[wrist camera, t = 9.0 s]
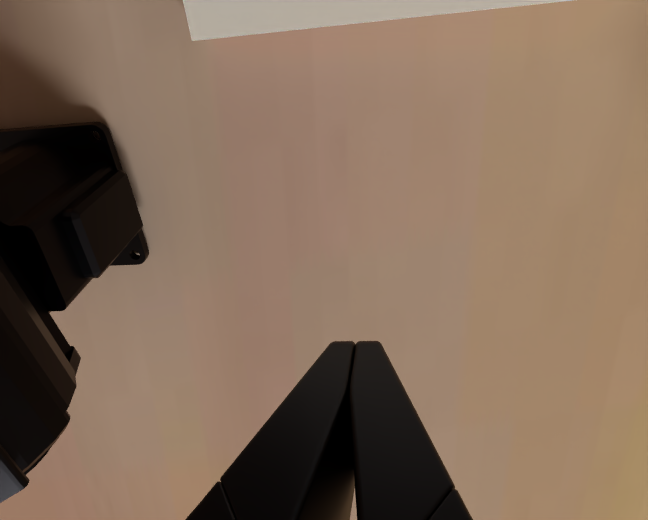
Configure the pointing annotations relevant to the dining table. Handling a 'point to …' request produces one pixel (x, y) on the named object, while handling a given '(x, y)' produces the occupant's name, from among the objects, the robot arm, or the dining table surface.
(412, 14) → the cable board
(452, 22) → the dining table surface
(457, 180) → the dining table surface
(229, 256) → the dining table surface
